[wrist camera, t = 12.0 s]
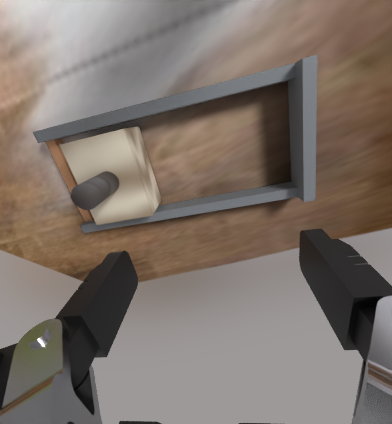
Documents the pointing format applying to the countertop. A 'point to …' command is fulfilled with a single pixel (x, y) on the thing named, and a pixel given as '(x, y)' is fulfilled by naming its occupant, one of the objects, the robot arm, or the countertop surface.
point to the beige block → (113, 176)
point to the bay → (297, 95)
